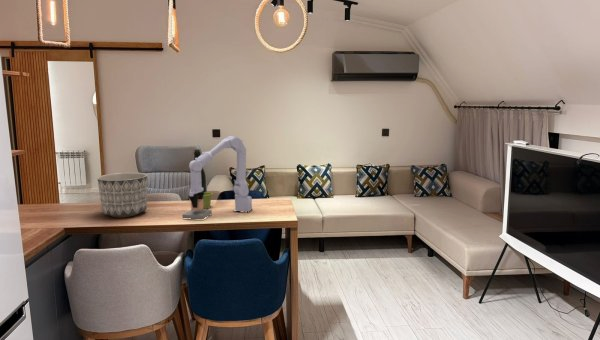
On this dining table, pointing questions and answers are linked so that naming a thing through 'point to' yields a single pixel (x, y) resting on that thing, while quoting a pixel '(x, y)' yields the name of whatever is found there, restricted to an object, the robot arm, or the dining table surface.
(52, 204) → the dining table surface
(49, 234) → the dining table surface
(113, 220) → the dining table surface
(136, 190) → the planter
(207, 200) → the plant pot
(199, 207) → the terracotta cube
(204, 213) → the slate plinth
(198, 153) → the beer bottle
